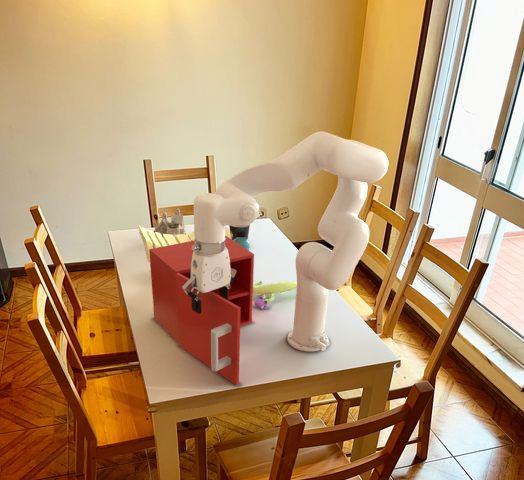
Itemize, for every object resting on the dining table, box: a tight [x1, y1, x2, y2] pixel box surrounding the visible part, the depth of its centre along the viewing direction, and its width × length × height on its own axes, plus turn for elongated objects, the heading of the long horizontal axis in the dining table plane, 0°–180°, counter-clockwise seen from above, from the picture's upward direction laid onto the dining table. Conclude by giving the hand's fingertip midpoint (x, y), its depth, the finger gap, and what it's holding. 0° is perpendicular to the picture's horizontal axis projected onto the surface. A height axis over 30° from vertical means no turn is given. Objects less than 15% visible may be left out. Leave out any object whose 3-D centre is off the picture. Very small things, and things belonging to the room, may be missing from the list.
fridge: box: [149, 236, 255, 344], centre depth 173 cm, size 18×26×24 cm
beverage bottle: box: [233, 228, 251, 251], centre depth 199 cm, size 6×7×20 cm
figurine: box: [253, 280, 297, 310], centre depth 192 cm, size 18×27×6 cm
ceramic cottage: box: [153, 207, 187, 244], centre depth 226 cm, size 16×16×15 cm
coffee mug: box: [228, 224, 251, 240], centre depth 231 cm, size 12×9×10 cm
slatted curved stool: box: [138, 225, 231, 263], centre depth 202 cm, size 30×16×18 cm, turn 111°
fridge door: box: [176, 273, 241, 386], centre depth 150 cm, size 7×26×24 cm, turn 43°
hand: (210, 306), depth 147 cm, fingers open, 8 cm apart
